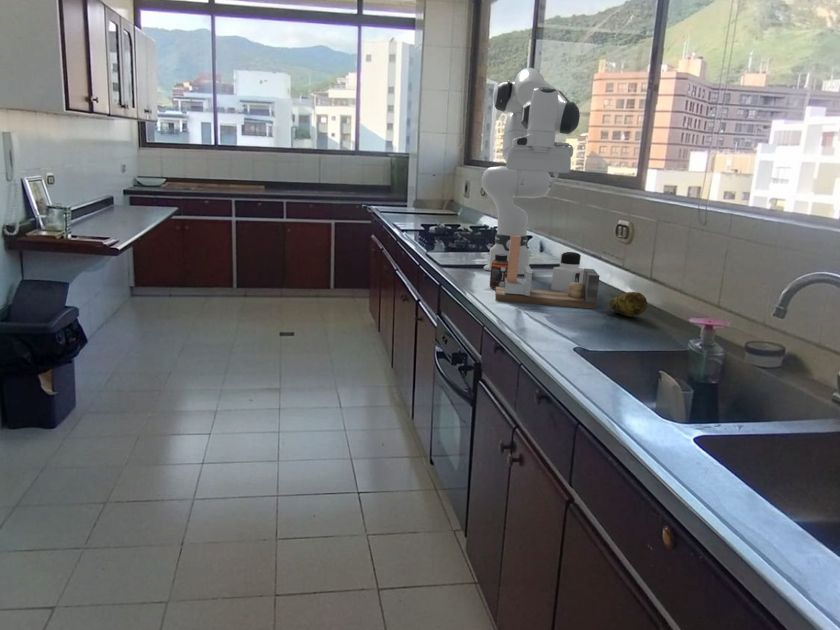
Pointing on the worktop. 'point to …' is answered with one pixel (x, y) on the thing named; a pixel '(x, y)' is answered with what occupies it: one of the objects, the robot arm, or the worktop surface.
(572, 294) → the beige rounded cylinder
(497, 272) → the supplement bottle
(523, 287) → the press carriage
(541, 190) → the robot arm
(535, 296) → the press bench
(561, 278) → the container
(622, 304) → the potato
